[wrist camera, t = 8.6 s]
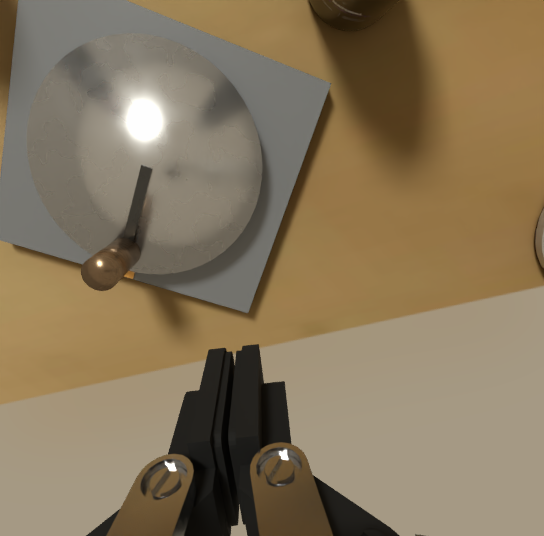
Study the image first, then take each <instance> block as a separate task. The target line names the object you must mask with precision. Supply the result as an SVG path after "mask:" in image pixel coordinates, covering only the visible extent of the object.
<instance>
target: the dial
mask: <svg viewBox="0 0 544 536" xmlns="http://www.w3.org/2000/svg"><path fill="white" fill-rule="evenodd" d="M26 140H27V156H28V161H29V167H30V172H31V175H32V178H33V181H34V184H35V187H36V189H37V191H38V194H39V196H40V198H41V200H42V202H43V204H44V205H45V207H46V209H47V210H48V212H49V214H50V215H51V217H52V218H53V219H54V221H55V222H56V223H57V224H58V226H59V227H60V228H61V229H62V230H63V231H64V232H65V233H66V234H67V235H68V237H69V238H70V239H72V240H73V241H74V242H75V243H76V244H78V245H79V246H80V247H81V248H82V249H84V250H85V251H87V252H88V253H90V254H91V255H93V256H92V257H90V258H89V259H88V260H86V261H85V262H84V263H83V265H82V268H81V275H82V278H83V280H84V282H85V283H86V284H87V285H88V286H89V287H91V288H93V289H95V290H99V291H105V290H109V289H111V288H112V287H114V286H115V285H116V284H117V283H118V281H119V280H120V279H121V278H122V277H123V276H124V275H125V274H126V273H127V272H128V271H132V272H137V273H144V274H171V273H178V272H182V271H187V270H190V269H193V268H196V267H198V266H201V265H203V264H205V263H207V262H209V261H211V260H213V259H214V258H216V257H217V256H218V255H220V254H221V253H223V252H224V251H225V250H226V249H227V248H228V247H229V246H231V245H232V244H233V243H234V242H235V240H236V239H237V238H238V237H239V235H240V234H241V233H242V232H243V230H244V229H245V227H246V225H247V224H248V222H249V220H250V218H251V216H252V214H253V212H254V209H255V207H256V204H257V200H258V197H259V193H260V187H261V181H262V155H261V146H260V142H259V137H258V133H257V130H256V127H255V124H254V121H253V119H252V116H251V114H250V112H249V110H248V108H247V106H246V104H245V102H244V100H243V99H242V97H241V96H240V94H239V93H238V91H237V90H236V88H235V87H234V86H233V84H232V83H231V82H230V81H229V80H228V79H227V78H226V76H225V75H224V74H223V73H222V72H221V71H220V70H219V69H218V68H216V67H215V66H214V65H213V64H212V63H211V62H210V61H208V60H207V59H205V58H204V57H203V56H201V55H200V54H198V53H197V52H195V51H194V50H192V49H190V48H188V47H186V46H184V45H182V44H180V43H177V42H174V41H172V40H169V39H166V38H163V37H159V36H153V35H148V34H138V33H123V34H114V35H108V36H105V37H101V38H97V39H94V40H92V41H89V42H87V43H85V44H83V45H81V46H79V47H77V48H76V49H74V50H73V51H71V52H70V53H68V54H67V55H65V56H64V57H63V58H62V59H61V60H60V61H59V62H58V63H57V64H56V65H55V66H54V67H53V68H52V69H51V71H50V72H49V73H48V74H47V76H46V77H45V78H44V80H43V82H42V84H41V85H40V87H39V89H38V91H37V93H36V95H35V98H34V101H33V103H32V106H31V110H30V114H29V119H28V125H27V138H26Z"/></svg>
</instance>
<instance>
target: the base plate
mask: <svg viewBox="0 0 544 536" xmlns="http://www.w3.org/2000/svg"><path fill="white" fill-rule="evenodd" d="M123 33H138V34H148V35H153V36H159V37H163V38H166V39H169V40H172V41H174V42H177V43H180V44H182V45H184V46H186V47H188V48H190V49H192V50H194V51H195V52H197V53H198V54H200V55H201V56H203V57H204V58H205V59H207V60H208V61H210V62H211V63H212V64H213V65H214V66H215V67H216V68H218V69H219V70H220V71H221V72H222V73H223V74H224V75H225V76H226V78H227V79H228V80H229V81H230V82H231V83H232V84H233V86H234V87H235V88H236V90H237V91H238V93H239V94H240V96H241V97H242V99H243V100H244V102H245V104H246V106H247V108H248V110H249V112H250V114H251V116H252V119H253V121H254V124H255V127H256V130H257V133H258V137H259V142H260V146H261V155H262V181H261V187H260V193H259V197H258V200H257V204H256V207H255V209H254V212H253V214H252V216H251V218H250V220H249V222H248V224H247V225H246V227H245V229H244V230H243V232H242V233H241V234H240V235H239V237H238V238H237V239H236V240H235V242H234V243H233V244H232V245H231V246H229V247H228V248H227V249H226V250H225V251H224V252H223V253H221V254H220V255H218V256H217V257H216V258H214V259H213V260H211V261H209V262H207V263H205V264H203V265H201V266H198V267H196V268H193V269H190V270H187V271H182V272H178V273H171V274H144V273H137V272H132V271H128V272H127V273H126V274H125V275H124V276H123V277H127V278H130V279H134V280H137V281H140V282H144V283H147V284H150V285H154V286H157V287H161V288H164V289H167V290H171V291H174V292H178V293H181V294H184V295H188V296H191V297H195V298H198V299H201V300H205V301H208V302H212V303H215V304H218V305H222V306H225V307H229V308H232V309H235V310H239V311H242V312H245V313H248V312H249V309H250V306H251V303H252V301H253V298H254V295H255V292H256V290H257V287H258V284H259V281H260V279H261V276H262V273H263V270H264V268H265V265H266V262H267V259H268V257H269V254H270V251H271V248H272V245H273V243H274V240H275V237H276V234H277V232H278V229H279V226H280V223H281V221H282V218H283V215H284V212H285V210H286V207H287V204H288V201H289V199H290V196H291V193H292V190H293V187H294V185H295V182H296V179H297V176H298V174H299V171H300V168H301V165H302V163H303V160H304V157H305V154H306V152H307V149H308V146H309V143H310V140H311V138H312V135H313V132H314V129H315V127H316V124H317V121H318V118H319V116H320V113H321V110H322V107H323V105H324V102H325V99H326V96H327V94H328V91H329V88H330V85H331V83H329V82H326V81H324V80H321V79H319V78H316V77H314V76H311V75H309V74H306V73H304V72H302V71H299V70H297V69H294V68H292V67H289V66H287V65H284V64H282V63H279V62H277V61H274V60H272V59H269V58H267V57H264V56H262V55H260V54H257V53H255V52H252V51H250V50H247V49H245V48H242V47H240V46H237V45H235V44H232V43H230V42H227V41H225V40H223V39H220V38H218V37H215V36H213V35H210V34H208V33H205V32H203V31H200V30H198V29H195V28H193V27H190V26H188V25H185V24H183V23H181V22H178V21H176V20H173V19H171V18H168V17H166V16H163V15H161V14H158V13H156V12H153V11H151V10H148V9H146V8H143V7H141V6H139V5H136V4H134V3H131V2H129V1H126V0H18V9H17V18H16V28H15V38H14V48H13V58H12V68H11V78H10V88H9V97H8V107H7V117H6V127H5V137H4V147H3V157H2V167H1V176H0V240H1V241H5V242H8V243H11V244H15V245H18V246H22V247H25V248H28V249H32V250H35V251H38V252H42V253H45V254H49V255H52V256H55V257H59V258H62V259H66V260H69V261H72V262H76V263H79V264H83V263H84V262H85V261H86V260H88V259H89V258H90V257H92V256H93V255H91V254H90V253H88V252H87V251H85V250H84V249H82V248H81V247H80V246H79V245H78V244H76V243H75V242H74V241H73V240H72V239H70V238H69V237H68V235H67V234H66V233H65V232H64V231H63V230H62V229H61V228H60V227H59V226H58V224H57V223H56V222H55V221H54V219H53V218H52V217H51V215H50V214H49V212H48V210H47V209H46V207H45V205H44V204H43V202H42V200H41V198H40V196H39V194H38V191H37V189H36V187H35V184H34V181H33V178H32V175H31V172H30V167H29V161H28V156H27V140H26V138H27V125H28V119H29V114H30V110H31V106H32V103H33V101H34V98H35V95H36V93H37V91H38V89H39V87H40V85H41V84H42V82H43V80H44V78H45V77H46V76H47V74H48V73H49V72H50V71H51V69H52V68H53V67H54V66H55V65H56V64H57V63H58V62H59V61H60V60H61V59H62V58H63V57H64V56H65V55H67V54H68V53H70V52H71V51H73V50H74V49H76V48H77V47H79V46H81V45H83V44H85V43H87V42H89V41H92V40H94V39H97V38H101V37H105V36H108V35H114V34H123Z"/></svg>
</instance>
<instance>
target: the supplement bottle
mask: <svg viewBox="0 0 544 536" xmlns="http://www.w3.org/2000/svg"><path fill="white" fill-rule="evenodd" d="M309 1H310V3H311V5H312V7H313V9H314V11H315V12H316V14H317V15H318V16H319V17H320V18H321V19H322V20H323V21H324V22H325V23H326V24H328V25H330V26H331V27H334V28H336V29H339V30H343V31H355V30H360V29H363V28H365V27H368V26H369V25H371V24H373V23H374V22H376V21H377V20H378V19H380V18H381V17H382V16H383V15H384V14H385V13H386V12H387V11H389V10H390V9H391V8H392V7H393V6H394V5H395V4H396V3H397V2H398V1H400V0H309Z"/></svg>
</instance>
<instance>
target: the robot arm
mask: <svg viewBox="0 0 544 536" xmlns="http://www.w3.org/2000/svg"><path fill="white" fill-rule="evenodd" d="M535 245H536V252H537V256H538V259H539V261H540V264H541V266H542V267H543V269H544V209H543V211H542V213H541V215H540V218H539V221H538V225H537V229H536V240H535ZM239 504H240V510H241V515H242V521H243V524H246V530H247V535H248V536H399V535H398V534H397V533H396V532H395V531H393V530H392V529H391V528H390V527H388V526H387V525H386V524H384V523H382V522H381V521H380V520H378V519H377V518H375V517H374V516H372V515H371V514H369V513H368V512H366V511H365V510H363V509H362V508H361V507H359V506H358V505H356V504H355V503H353V502H352V501H350V500H349V499H347V498H346V497H344V496H343V495H341V494H340V493H338V492H337V491H335V490H334V489H333V488H331V487H329V486H328V485H327V484H325V483H324V482H322V481H321V480H319V479H318V478H316V477H315V476H313V475H312V472H311V469H310V466H309V463H308V460H307V458H306V456H305V454H304V452H302V450H300V449H299V448H298V447H296V446H294V445H292V444H291V437H290V427H289V419H288V409H287V400H286V390H285V382H284V381H283V382H273V383H264V381H263V373H262V365H261V357H260V350H259V344H257V345H247V346H242V350H241V351H237V352H236V361H235V365H234V359H233V353H232V352H227V351H226V348H219V349H210V350H209V351H208V355H207V359H206V364H205V368H204V372H203V376H202V381H201V385H200V390H198V391H190V392H186V394H185V397H184V400H183V403H182V407H181V410H180V414H179V417H178V421H177V424H176V428H175V431H174V435H173V438H172V442H171V445H170V449H169V452H168V455H164V456H162V457H159V458H157V459H155V460H153V461H152V462H150V463H149V464H147V465H146V466H145V467H144V468H143V469H142V471H141V472H140V473H139V475H138V476H137V478H136V480H135V482H134V484H133V485H132V487H131V489H130V491H129V493H128V495H127V497H126V499H125V501H124V503H123V505H122V507H121V509H119V510H118V511H117V512H116V513H114V514H113V515H112V516H111V517H109V518H108V519H107V520H105V521H104V522H103V523H102V524H100V525H99V526H98V527H97V528H95V529H94V530H93V531H92V532H91V533H89V534H88V535H86V536H230V534H231V526H235V525H238V516H239ZM415 536H424V535H416V534H415Z"/></svg>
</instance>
